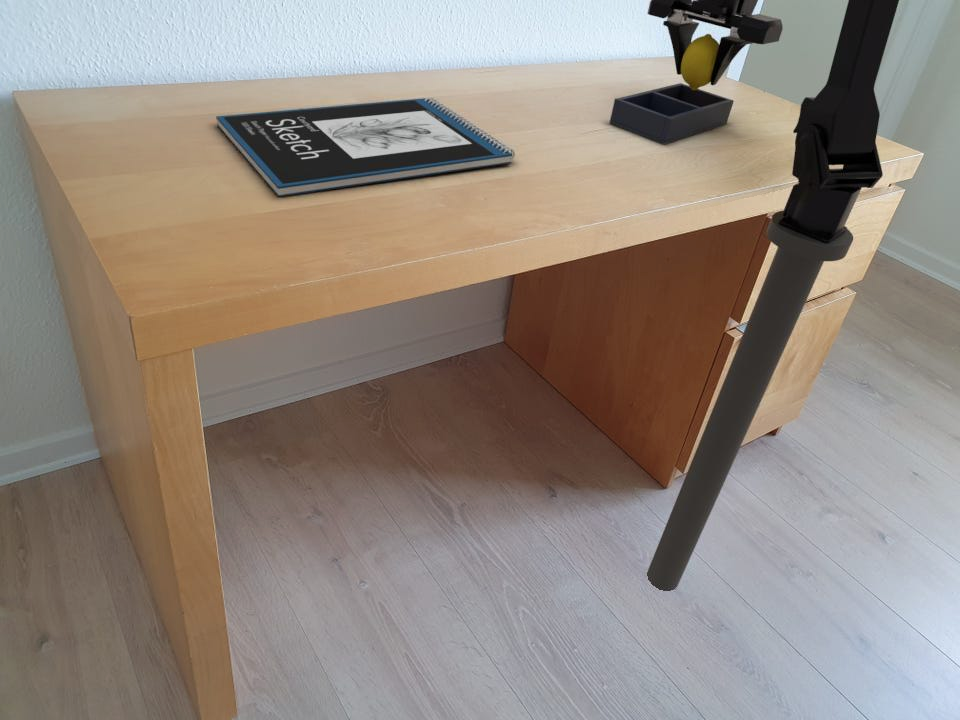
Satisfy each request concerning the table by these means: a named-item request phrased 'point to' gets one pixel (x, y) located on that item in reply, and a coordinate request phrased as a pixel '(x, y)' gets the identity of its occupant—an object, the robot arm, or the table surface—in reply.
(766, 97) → the table surface
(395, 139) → the sketchbook
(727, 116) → the holder
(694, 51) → the lemon
